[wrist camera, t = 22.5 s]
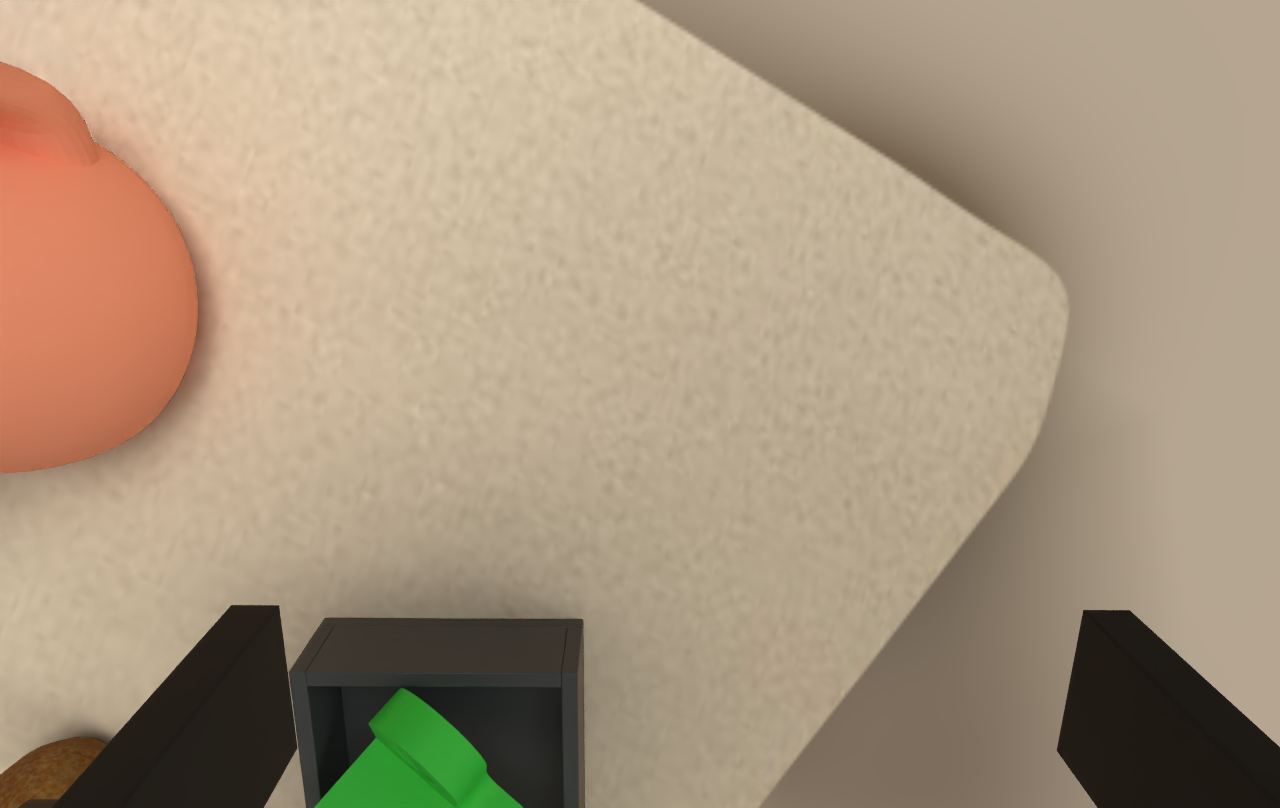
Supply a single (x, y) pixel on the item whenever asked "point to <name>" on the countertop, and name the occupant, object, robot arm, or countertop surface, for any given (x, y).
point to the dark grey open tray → (450, 697)
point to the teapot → (81, 287)
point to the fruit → (47, 771)
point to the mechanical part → (416, 765)
